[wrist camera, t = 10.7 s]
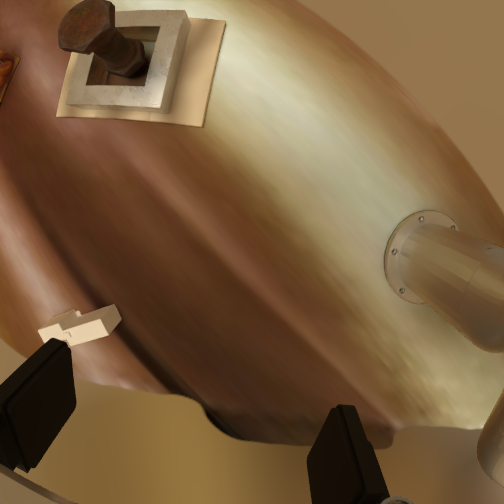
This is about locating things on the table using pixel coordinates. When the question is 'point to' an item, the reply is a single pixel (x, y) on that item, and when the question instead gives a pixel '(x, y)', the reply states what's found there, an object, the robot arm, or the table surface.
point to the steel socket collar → (159, 74)
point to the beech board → (187, 86)
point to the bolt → (101, 38)
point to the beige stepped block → (81, 325)
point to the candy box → (6, 70)
